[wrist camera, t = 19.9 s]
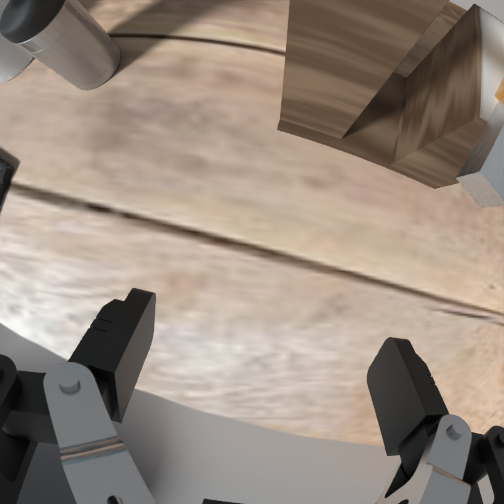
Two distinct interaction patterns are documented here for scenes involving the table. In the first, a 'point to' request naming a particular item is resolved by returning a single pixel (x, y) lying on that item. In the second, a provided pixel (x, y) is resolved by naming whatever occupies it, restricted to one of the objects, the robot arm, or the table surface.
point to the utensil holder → (11, 55)
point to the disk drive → (4, 177)
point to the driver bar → (487, 160)
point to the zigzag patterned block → (391, 83)
